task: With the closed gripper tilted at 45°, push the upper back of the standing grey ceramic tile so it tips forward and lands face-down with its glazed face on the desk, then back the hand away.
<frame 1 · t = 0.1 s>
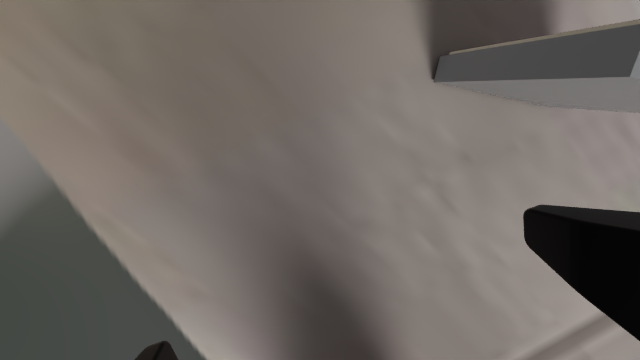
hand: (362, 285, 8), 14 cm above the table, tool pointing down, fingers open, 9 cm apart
grey tile: (497, 83, 23), on the table
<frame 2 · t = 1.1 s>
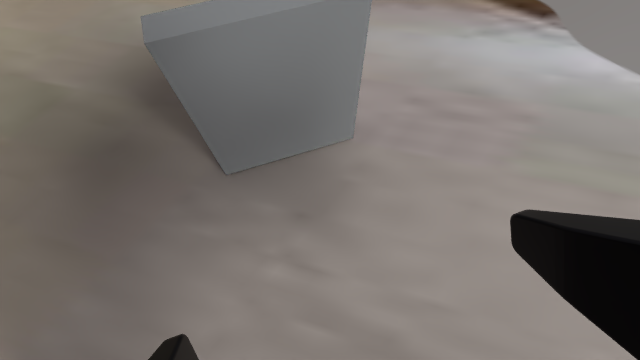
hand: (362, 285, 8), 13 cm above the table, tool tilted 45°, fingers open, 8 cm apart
grey tile: (288, 146, 25), on the table
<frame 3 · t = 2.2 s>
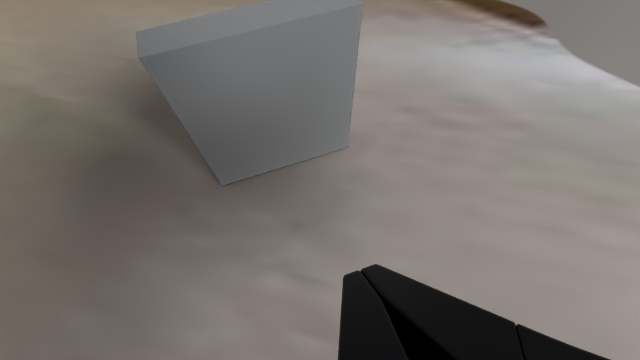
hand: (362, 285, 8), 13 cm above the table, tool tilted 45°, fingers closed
grey tile: (283, 156, 25), on the table
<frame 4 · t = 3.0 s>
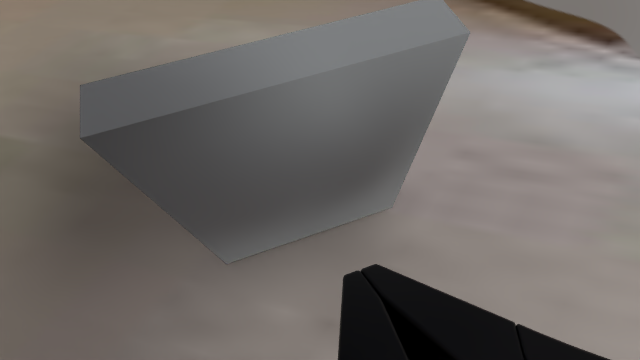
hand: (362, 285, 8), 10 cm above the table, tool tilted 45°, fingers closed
grey tile: (307, 221, 19), on the table
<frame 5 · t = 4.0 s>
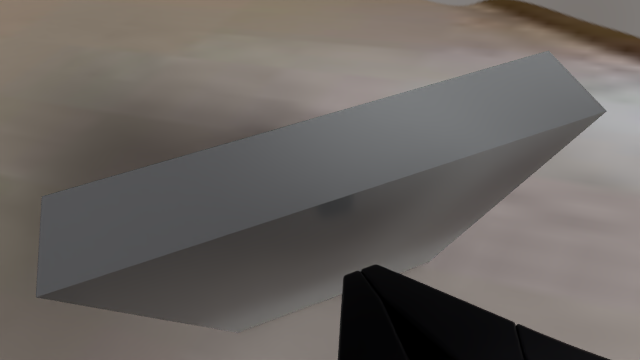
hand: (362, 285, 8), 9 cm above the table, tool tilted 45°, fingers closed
grey tile: (331, 279, 16), on the table
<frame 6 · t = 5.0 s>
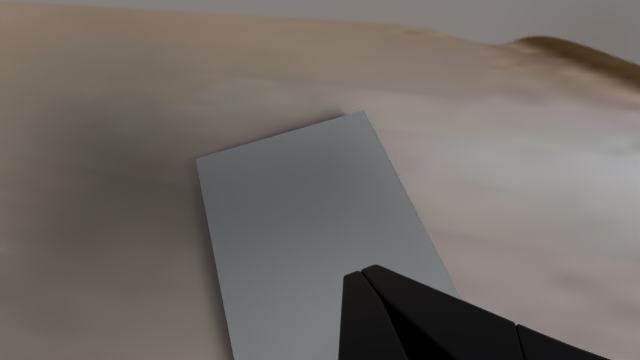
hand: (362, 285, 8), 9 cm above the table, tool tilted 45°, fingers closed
grey tile: (361, 359, 14), point 1 cm above the table, tilted 90°
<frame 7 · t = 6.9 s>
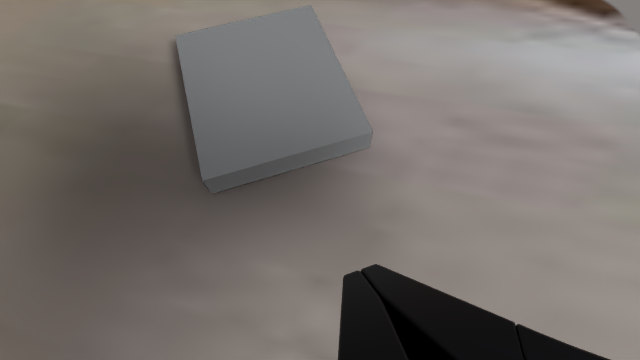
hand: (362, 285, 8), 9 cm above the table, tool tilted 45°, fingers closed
grey tile: (292, 162, 19), point 1 cm above the table, tilted 90°
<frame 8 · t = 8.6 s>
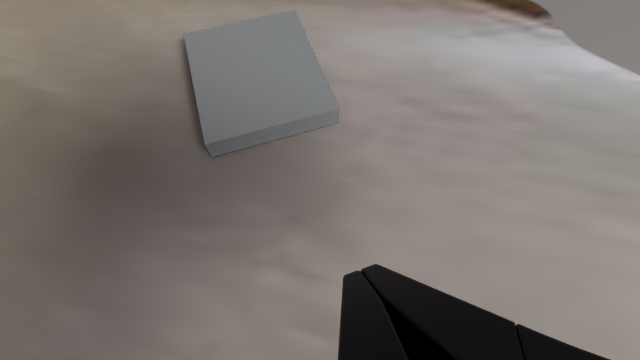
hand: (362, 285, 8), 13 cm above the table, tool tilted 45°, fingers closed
grey tile: (275, 133, 24), point 1 cm above the table, tilted 90°
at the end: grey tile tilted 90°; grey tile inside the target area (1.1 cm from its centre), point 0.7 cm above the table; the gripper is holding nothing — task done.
